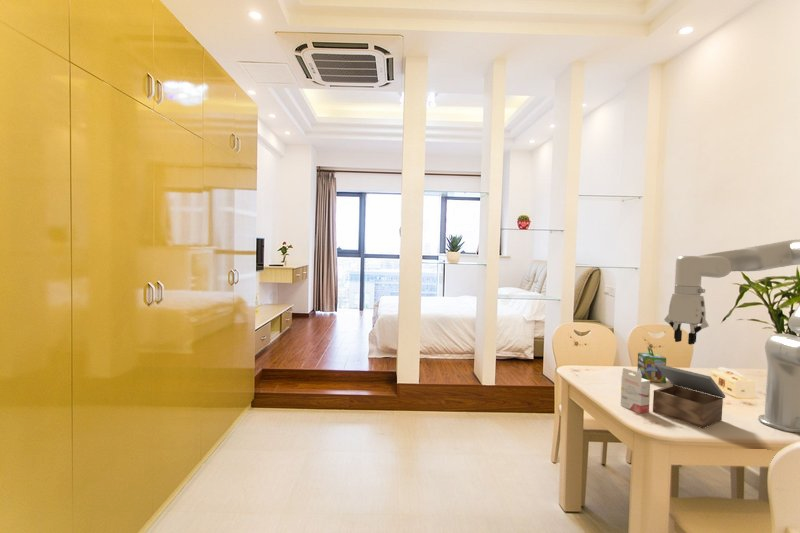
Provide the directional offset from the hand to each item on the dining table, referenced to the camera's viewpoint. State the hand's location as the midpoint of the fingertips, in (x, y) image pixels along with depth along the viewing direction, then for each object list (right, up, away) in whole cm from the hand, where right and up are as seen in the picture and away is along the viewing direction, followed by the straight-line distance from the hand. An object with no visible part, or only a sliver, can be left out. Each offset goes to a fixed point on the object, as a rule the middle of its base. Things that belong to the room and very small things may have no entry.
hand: (684, 342), depth 143 cm
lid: (+4, -15, +3) cm, 16 cm away
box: (+3, -27, +3) cm, 28 cm away
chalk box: (+17, -26, +46) cm, 56 cm away
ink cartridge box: (-13, -27, +9) cm, 31 cm away
